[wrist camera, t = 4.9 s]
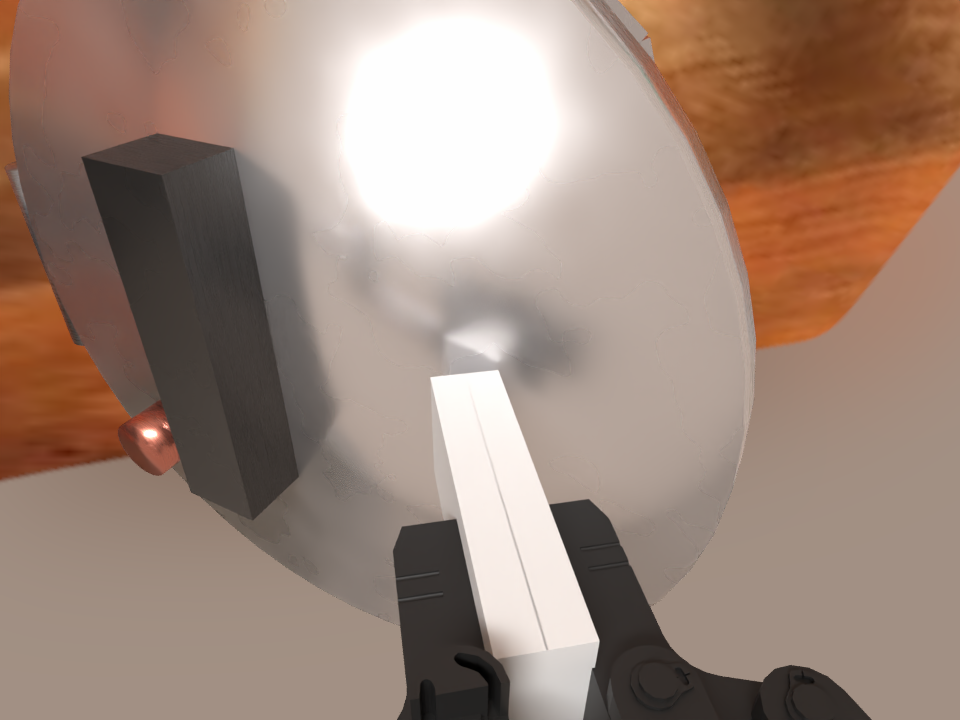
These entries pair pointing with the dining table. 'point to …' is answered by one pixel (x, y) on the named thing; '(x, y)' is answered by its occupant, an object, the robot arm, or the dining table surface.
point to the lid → (387, 260)
